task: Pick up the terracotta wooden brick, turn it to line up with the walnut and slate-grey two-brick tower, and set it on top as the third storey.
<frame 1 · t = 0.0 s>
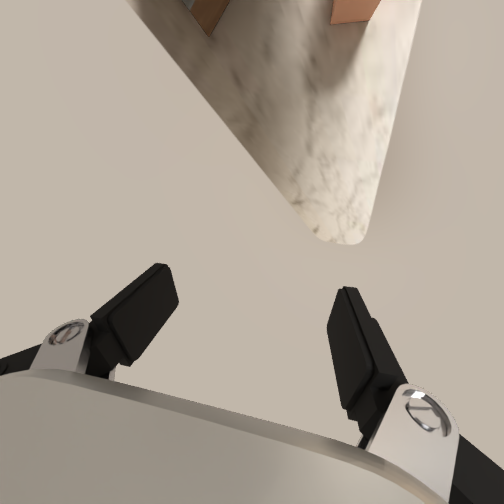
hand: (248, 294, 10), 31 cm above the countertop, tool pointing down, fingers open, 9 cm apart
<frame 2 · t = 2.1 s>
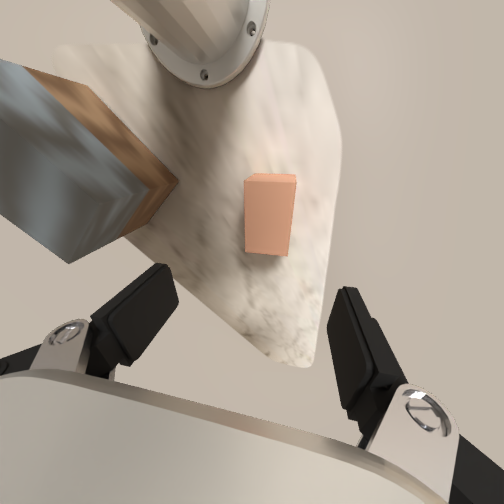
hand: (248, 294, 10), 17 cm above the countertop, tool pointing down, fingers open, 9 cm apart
terracotta brick: (272, 206, 24), on the countertop
brick tower: (121, 166, 25), on the countertop
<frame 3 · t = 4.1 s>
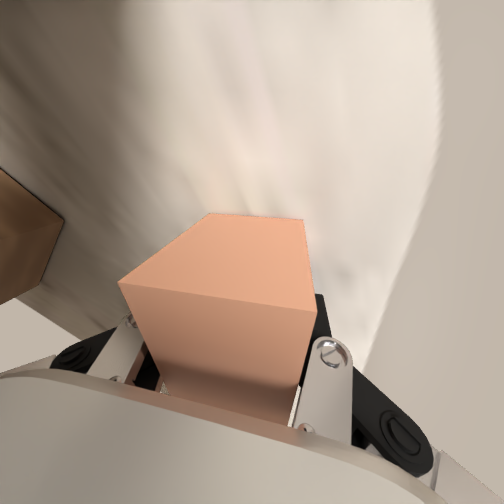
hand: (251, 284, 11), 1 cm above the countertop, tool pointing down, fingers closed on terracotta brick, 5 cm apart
terracotta brick: (253, 277, 11), on the countertop, touching gripper
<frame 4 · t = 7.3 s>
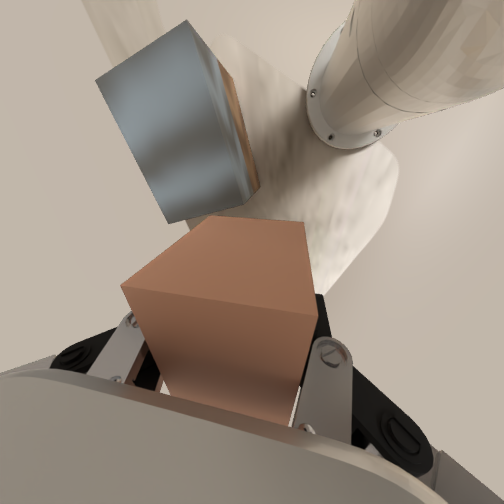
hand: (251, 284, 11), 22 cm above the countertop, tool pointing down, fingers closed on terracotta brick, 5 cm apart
terracotta brick: (253, 278, 11), point 22 cm above the countertop, touching gripper
brick tower: (218, 149, 28), on the countertop
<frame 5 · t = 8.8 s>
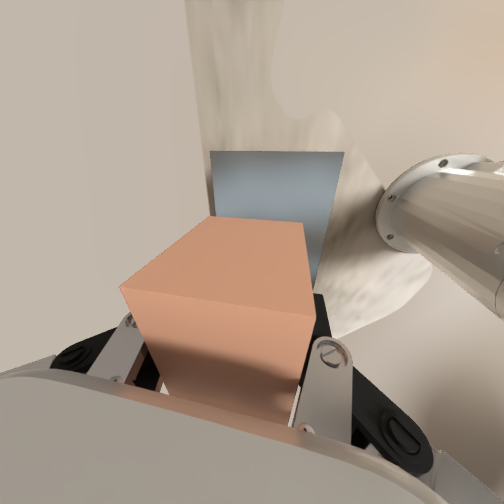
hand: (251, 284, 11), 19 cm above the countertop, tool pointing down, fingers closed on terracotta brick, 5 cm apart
terracotta brick: (253, 279, 11), point 18 cm above the countertop, touching gripper
brick tower: (277, 204, 27), on the countertop
when the fingers open (14 cm above the countertop, at t = 10.4 s): terracotta brick drops 1 cm, resting on brick tower.
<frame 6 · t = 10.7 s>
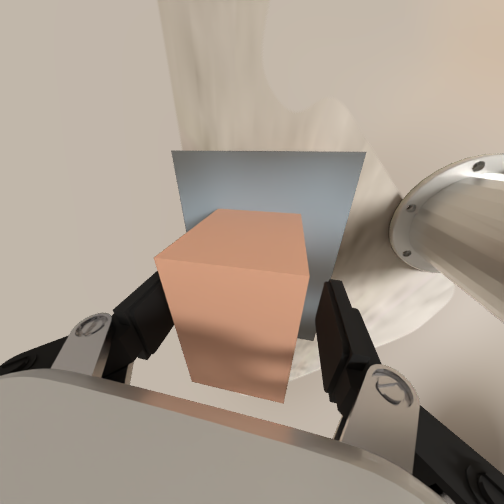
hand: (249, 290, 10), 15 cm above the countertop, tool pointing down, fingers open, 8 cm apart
terracotta brick: (256, 266, 13), point 12 cm above the countertop, touching brick tower
brick tower: (272, 214, 23), on the countertop
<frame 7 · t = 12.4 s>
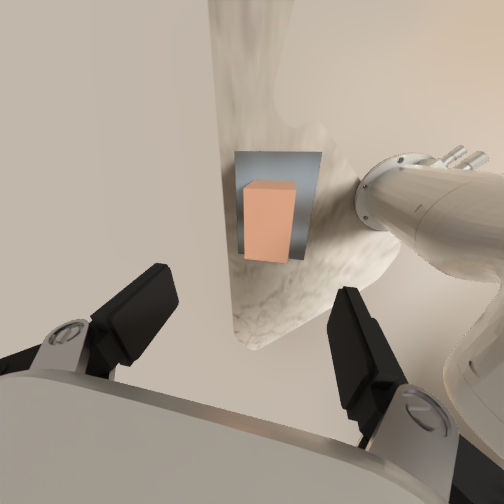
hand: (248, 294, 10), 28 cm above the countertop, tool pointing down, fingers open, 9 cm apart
terracotta brick: (272, 212, 24), point 12 cm above the countertop, touching brick tower
brick tower: (278, 193, 34), on the countertop
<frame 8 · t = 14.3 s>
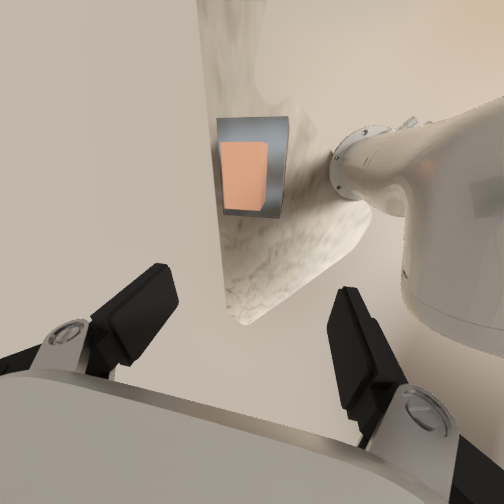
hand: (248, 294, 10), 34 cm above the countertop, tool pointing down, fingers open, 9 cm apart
terracotta brick: (250, 173, 28), point 12 cm above the countertop, touching brick tower
brick tower: (262, 167, 38), on the countertop
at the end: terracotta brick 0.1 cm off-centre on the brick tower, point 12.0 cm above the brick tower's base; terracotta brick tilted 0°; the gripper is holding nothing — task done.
